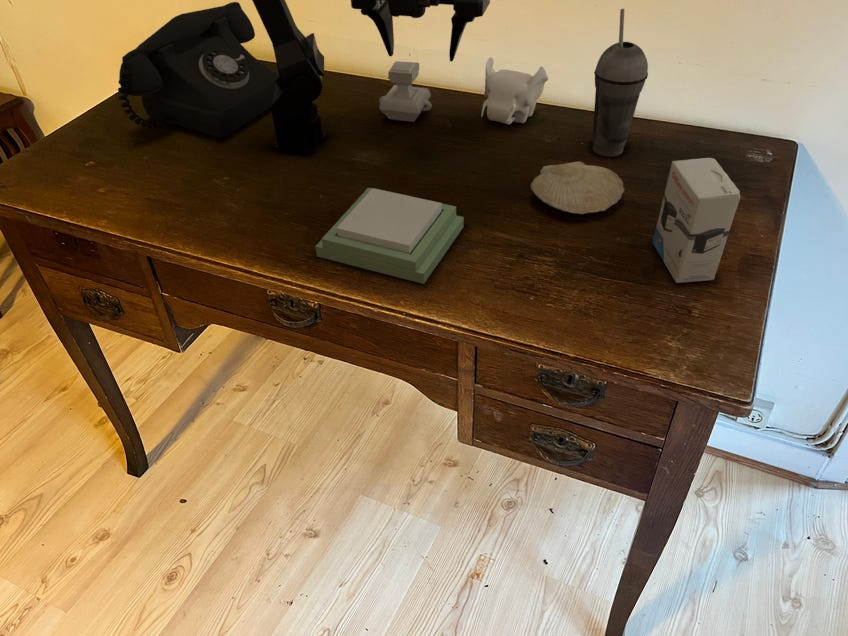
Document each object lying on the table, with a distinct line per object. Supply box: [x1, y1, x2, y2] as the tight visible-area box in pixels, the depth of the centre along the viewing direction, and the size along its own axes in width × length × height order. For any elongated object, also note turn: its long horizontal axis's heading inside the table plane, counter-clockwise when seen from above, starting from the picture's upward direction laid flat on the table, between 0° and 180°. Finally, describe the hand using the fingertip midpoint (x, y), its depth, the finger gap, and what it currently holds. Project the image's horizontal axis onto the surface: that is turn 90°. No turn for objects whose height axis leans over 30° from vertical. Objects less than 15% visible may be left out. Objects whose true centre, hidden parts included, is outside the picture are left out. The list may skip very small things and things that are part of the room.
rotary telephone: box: [117, 1, 279, 138], centre depth 119 cm, size 30×17×15 cm, turn 148°
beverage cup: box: [592, 8, 649, 157], centre depth 103 cm, size 7×7×20 cm
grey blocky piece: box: [378, 60, 433, 123], centre depth 117 cm, size 9×7×8 cm
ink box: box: [652, 157, 742, 284], centre depth 86 cm, size 8×5×12 cm, turn 5°
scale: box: [314, 187, 465, 285], centre depth 94 cm, size 15×13×3 cm
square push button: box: [337, 187, 443, 254], centre depth 93 cm, size 10×10×2 cm
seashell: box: [530, 160, 625, 215], centre depth 100 cm, size 12×12×3 cm
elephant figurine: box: [481, 56, 549, 125], centre depth 115 cm, size 10×12×9 cm
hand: (421, 57), depth 107 cm, fingers open, 9 cm apart
